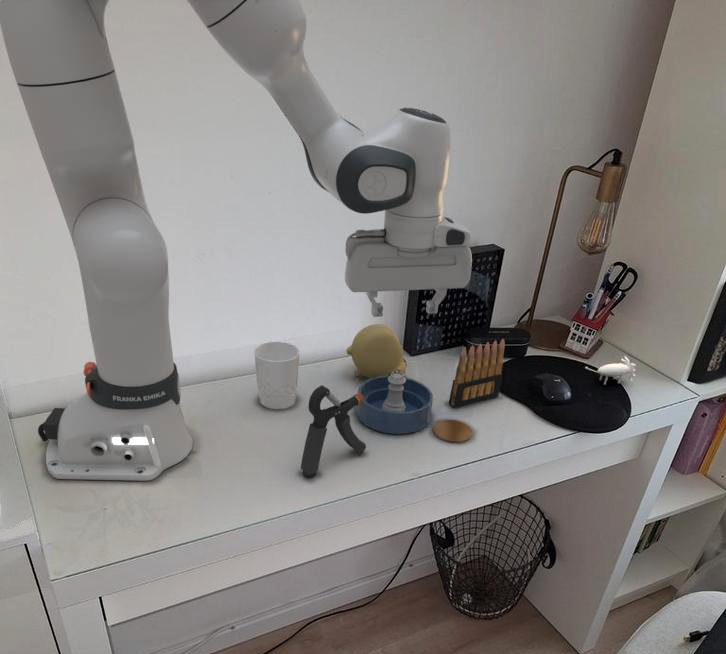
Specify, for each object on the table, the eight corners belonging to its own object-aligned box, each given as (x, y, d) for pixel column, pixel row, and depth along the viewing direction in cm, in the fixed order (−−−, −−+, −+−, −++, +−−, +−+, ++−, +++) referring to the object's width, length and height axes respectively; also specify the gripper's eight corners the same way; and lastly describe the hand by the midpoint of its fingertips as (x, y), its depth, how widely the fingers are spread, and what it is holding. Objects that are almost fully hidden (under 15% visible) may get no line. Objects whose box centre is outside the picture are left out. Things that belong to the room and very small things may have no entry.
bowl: (366, 438, 118) (368, 415, 116) (349, 399, 129) (350, 377, 126) (439, 432, 121) (443, 410, 119) (416, 394, 132) (419, 373, 129)
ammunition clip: (492, 392, 134) (504, 336, 127) (498, 397, 133) (510, 340, 126) (448, 403, 130) (457, 345, 122) (453, 408, 128) (463, 350, 121)
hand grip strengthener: (367, 453, 115) (374, 373, 106) (308, 480, 108) (309, 397, 99) (358, 447, 116) (364, 368, 107) (299, 473, 109) (300, 391, 100)
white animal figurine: (623, 374, 144) (630, 353, 141) (638, 386, 140) (645, 365, 137) (573, 378, 141) (579, 357, 138) (586, 390, 137) (592, 369, 134)
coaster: (440, 444, 118) (440, 442, 118) (427, 423, 124) (427, 421, 123) (477, 441, 120) (478, 439, 120) (463, 420, 125) (464, 418, 125)
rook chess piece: (403, 421, 123) (407, 382, 118) (378, 417, 123) (382, 378, 118) (407, 409, 126) (411, 370, 121) (383, 405, 127) (387, 367, 122)
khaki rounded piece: (367, 402, 135) (408, 380, 128) (331, 352, 132) (371, 327, 125) (386, 379, 142) (425, 358, 136) (352, 331, 139) (391, 307, 132)
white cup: (248, 404, 125) (245, 355, 119) (268, 386, 130) (267, 337, 124) (286, 415, 122) (286, 365, 116) (306, 396, 128) (306, 347, 122)
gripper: (351, 237, 100) (347, 325, 108) (481, 234, 105) (467, 319, 113) (341, 223, 105) (338, 309, 113) (466, 221, 109) (454, 303, 118)
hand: (404, 314), depth 113 cm, fingers open, 8 cm apart
